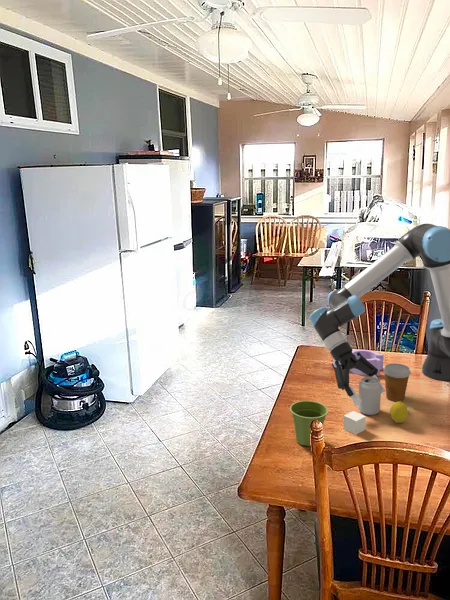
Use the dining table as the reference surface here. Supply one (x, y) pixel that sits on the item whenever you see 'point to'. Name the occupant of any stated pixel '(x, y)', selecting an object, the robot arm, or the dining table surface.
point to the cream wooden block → (354, 422)
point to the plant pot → (306, 418)
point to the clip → (372, 358)
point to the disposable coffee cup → (396, 381)
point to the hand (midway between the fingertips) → (371, 397)
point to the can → (369, 395)
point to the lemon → (399, 412)
